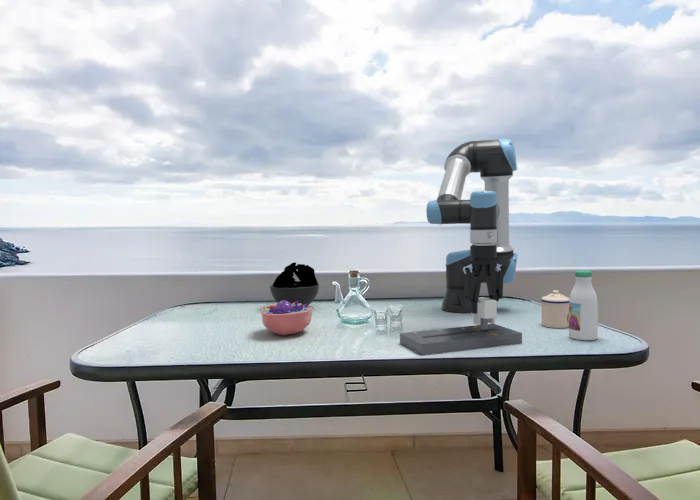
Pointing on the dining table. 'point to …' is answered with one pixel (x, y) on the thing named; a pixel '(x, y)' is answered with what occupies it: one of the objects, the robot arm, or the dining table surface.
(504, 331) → the fader console
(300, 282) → the coal bowl
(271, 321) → the cell model
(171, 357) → the dining table surface
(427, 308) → the dining table surface
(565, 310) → the teacup with lid
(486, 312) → the fader knob
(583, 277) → the milk bottle
